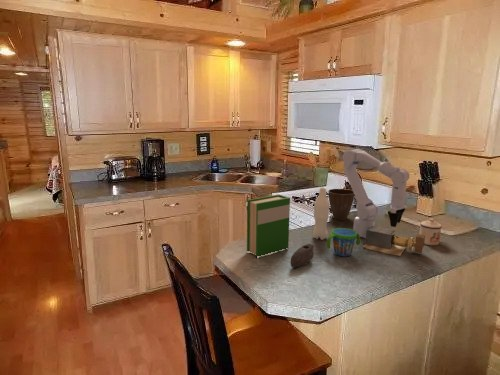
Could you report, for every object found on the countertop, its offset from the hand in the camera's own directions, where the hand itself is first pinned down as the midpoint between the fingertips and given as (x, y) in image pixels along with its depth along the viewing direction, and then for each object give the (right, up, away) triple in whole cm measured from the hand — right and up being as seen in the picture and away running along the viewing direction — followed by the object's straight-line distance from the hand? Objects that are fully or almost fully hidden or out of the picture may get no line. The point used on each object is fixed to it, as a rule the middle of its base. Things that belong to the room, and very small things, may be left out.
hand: (395, 224), depth 161 cm
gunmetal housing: (-7, -10, -1) cm, 12 cm away
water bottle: (-33, -8, +8) cm, 35 cm away
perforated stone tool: (-47, -14, -21) cm, 53 cm away
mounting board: (-6, -10, -2) cm, 12 cm away
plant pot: (-15, -1, +40) cm, 43 cm away
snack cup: (-27, -12, -10) cm, 32 cm away
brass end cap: (+1, -10, -7) cm, 13 cm away
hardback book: (-60, -11, -8) cm, 62 cm away
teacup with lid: (+19, -9, +5) cm, 21 cm away
